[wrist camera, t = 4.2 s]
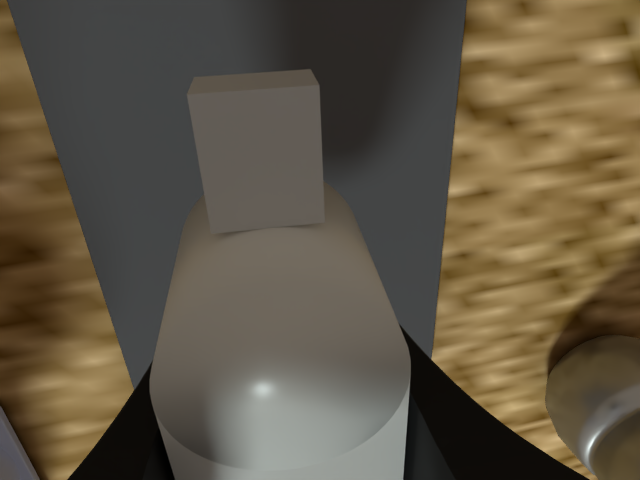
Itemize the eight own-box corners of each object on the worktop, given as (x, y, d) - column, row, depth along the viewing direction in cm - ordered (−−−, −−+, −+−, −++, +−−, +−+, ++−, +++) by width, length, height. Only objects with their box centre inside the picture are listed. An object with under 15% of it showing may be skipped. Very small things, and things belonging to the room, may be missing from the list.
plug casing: (359, 432, 16) (396, 583, 12) (223, 451, 16) (215, 612, 12) (360, 48, 10) (429, 108, 6) (139, 63, 10) (71, 136, 6)
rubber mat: (427, 358, 25) (430, 365, 24) (140, 394, 24) (138, 402, 23) (466, -64, 16) (472, -64, 15) (1, -42, 14) (-7, -41, 14)
